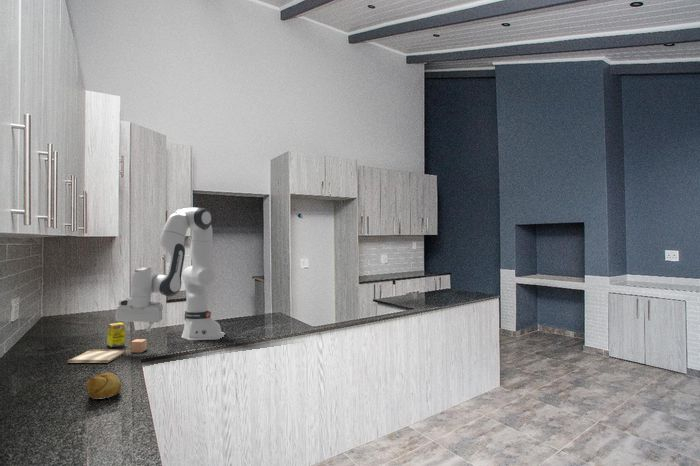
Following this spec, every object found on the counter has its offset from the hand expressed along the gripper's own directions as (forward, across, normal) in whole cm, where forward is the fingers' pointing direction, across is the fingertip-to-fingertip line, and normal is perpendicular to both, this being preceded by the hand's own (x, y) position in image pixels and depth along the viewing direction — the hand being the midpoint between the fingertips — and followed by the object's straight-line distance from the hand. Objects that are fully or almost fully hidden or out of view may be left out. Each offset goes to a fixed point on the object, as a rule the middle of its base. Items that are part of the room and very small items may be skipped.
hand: (137, 330), depth 185 cm
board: (+10, +11, +11) cm, 19 cm away
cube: (+10, -1, -1) cm, 10 cm away
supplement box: (+10, +13, -9) cm, 19 cm away
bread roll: (+11, -12, +53) cm, 55 cm away
